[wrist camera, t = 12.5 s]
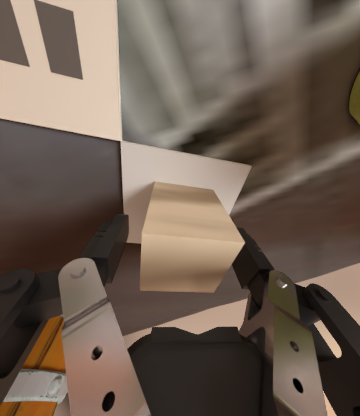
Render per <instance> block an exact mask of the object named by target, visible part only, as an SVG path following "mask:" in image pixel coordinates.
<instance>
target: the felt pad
mask: <svg viewBox="0 0 360 416" xmlns="http://www.w3.org/2000/svg"><path fill="white" fill-rule="evenodd" d="M121 162H122V185H123V207H124V214H126V215H128V216H129V235H128V239H127V243H139V244H141V242H142V231H143V227H144V223H145V219H146V215H147V211H148V207H149V203H150V199H151V195H152V191H153V188H154V184H155V181H156V182H163V183H170V184H177V185H184V186H191V187H197V188H204V189H211V190H214V192H215V193H216V195H217V197H218V198H219V200H220V202H221V203H222V205H223V207H224V208H225V210H226V212H227V213H228V215H229V214H230V212H231V210H232V208H233V206H234V203H235V201H236V199H237V197H238V195H239V193H240V191H241V189H242V186H243V184H244V182H245V180H246V178H247V176H248V174H249V172H250V170H251V167H252V166H251V165H247V164H242V163H237V162H232V161H226V160H221V159H216V158H211V157H205V156H200V155H195V154H190V153H184V152H179V151H174V150H169V149H163V148H158V147H153V146H148V145H142V144H137V143H132V142H127V141H121Z"/></svg>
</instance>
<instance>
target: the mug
mask: <svg viewBox="0 0 360 416" xmlns="http://www.w3.org/2000/svg"><path fill="white" fill-rule="evenodd" d="M63 325H64V318H63V315H60V316H57V317H54V318H51V319H49V320H48V322H47V324H46V326H45V328H44V329H43V331H42V333H41V335H40V336H39V338H38V340H37V342H36V344H35V345H34V347H33V349H32V351H31V353H30V354H29V356H28V358H27V360H26V361H25V363H24V365H23V367H22V369H21V370H20V372H19V374H18V376H17V378H16V379H15V381H14V383H13V385H12V386H11V388H10V390H9V392H8V394H7V395H6V397H5V399H4V401H3V403H2V404H1V406H0V416H53V414H54V411H55V409H56V406H57V404H59V403H61V402H62V400H63V399H64V397H65V395H66V393H67V391H68V386H67V377H66V369H65V360H64V352H63V343H62V326H63Z"/></svg>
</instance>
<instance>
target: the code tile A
mask: <svg viewBox="0 0 360 416" xmlns="http://www.w3.org/2000/svg"><path fill="white" fill-rule="evenodd" d="M0 118H1V119H6V120H12V121H17V122H22V123H27V124H33V125H38V126H43V127H49V128H54V129H59V130H64V131H70V132H75V133H80V134H85V135H91V136H96V137H101V138H107V139H112V140H117V141H122V119H121V93H120V67H119V40H118V14H117V0H0Z"/></svg>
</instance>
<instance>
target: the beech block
mask: <svg viewBox="0 0 360 416" xmlns="http://www.w3.org/2000/svg"><path fill="white" fill-rule="evenodd" d="M244 244H245V241H244V240H243V238H242V236H241V235H240V233H239V231H238V230H237V228H236V226H235V225H234V223H233V222H232V220H231V218H230V217H229V215H228V213H227V212H226V210H225V208H224V207H223V205H222V203H221V202H220V200H219V198H218V197H217V195H216V193H215V192H214V190H211V189H204V188H197V187H191V186H184V185H177V184H170V183H163V182H156V181H155V184H154V188H153V191H152V195H151V199H150V203H149V207H148V211H147V215H146V219H145V223H144V227H143V231H142V242H141V269H140V290H142V291H177V292H212V293H214V291H215V290H216V288H217V287H218V285H219V284H220V282H221V280H222V279H223V277H224V276H225V274H226V272H227V271H228V269H229V268H230V266H231V264H232V263H233V261H234V260H235V258H236V256H237V255H238V253H239V252H240V250H241V249H242V247H243V245H244Z"/></svg>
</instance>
